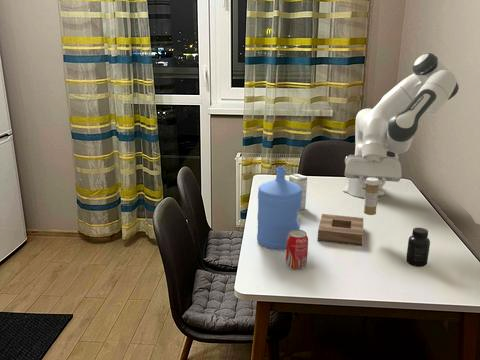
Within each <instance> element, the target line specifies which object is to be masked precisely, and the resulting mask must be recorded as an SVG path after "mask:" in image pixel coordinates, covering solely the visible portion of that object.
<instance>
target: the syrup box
mask: <svg viewBox="0 0 480 360" xmlns="http://www.w3.org/2000/svg"><path fill="white" fill-rule="evenodd" d="M288 177H289V179H288V181H290V182H292V183H294V184H297V185H298V186H300V187H301V189H302V200H301V208H300V209H299V210H298V211H300V210H303V209H306V207H307V206H306V205H307V203H306V202H307V189H308V176H306V175H302V174H299V173H294V174H291V175H289V176H288Z"/></svg>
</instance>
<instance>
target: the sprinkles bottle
mask: <svg viewBox="0 0 480 360" xmlns="http://www.w3.org/2000/svg"><path fill="white" fill-rule="evenodd" d="M378 185H379V179H378V178H375V177H369V178H367V179H366V194H365V198H364V210H363V214H365V215H368V216H375V215H376V214H377V206H378V197H379V196H378Z"/></svg>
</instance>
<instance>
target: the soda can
mask: <svg viewBox="0 0 480 360" xmlns="http://www.w3.org/2000/svg"><path fill="white" fill-rule="evenodd" d="M308 253H309V238H308V235H307V232H306V231H305V230H302V229H300V230H291V231H290V232H289V235H288V236H287V242H286V250H285V265H286V266H287V267H288V268H289V269H291V270H295V271H299V270H302V269H305V267H307V264H308V263H307V262H308Z"/></svg>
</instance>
